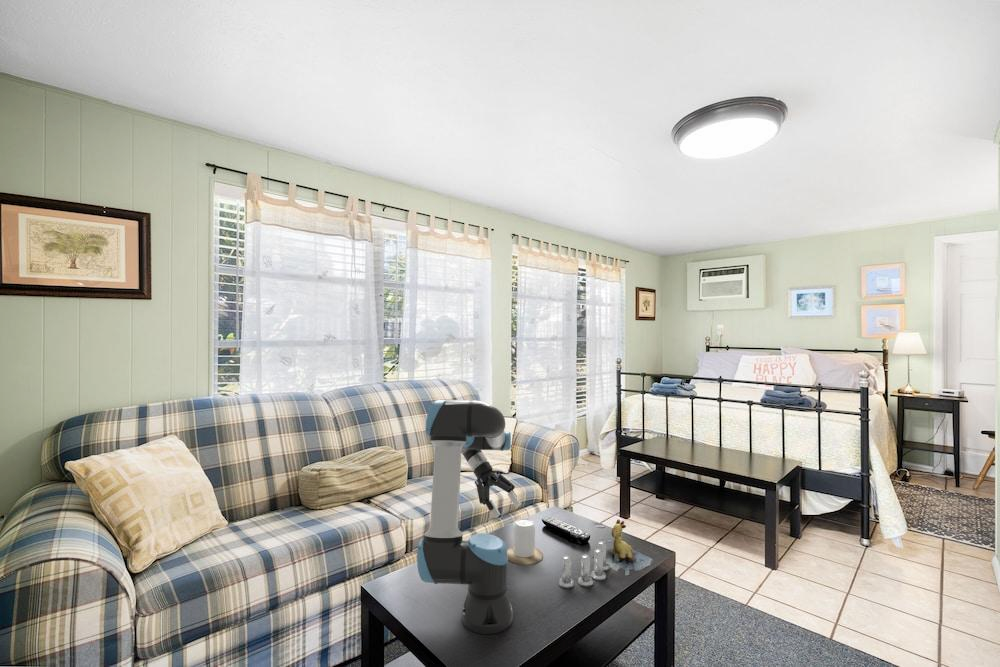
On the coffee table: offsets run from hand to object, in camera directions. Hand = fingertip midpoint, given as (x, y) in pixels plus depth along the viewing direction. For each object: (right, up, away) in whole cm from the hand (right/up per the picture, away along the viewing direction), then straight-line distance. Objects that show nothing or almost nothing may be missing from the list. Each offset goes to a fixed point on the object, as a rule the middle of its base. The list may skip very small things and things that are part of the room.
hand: (508, 511), depth 177 cm
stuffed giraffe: (+44, -16, -8) cm, 47 cm away
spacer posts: (+27, -15, -20) cm, 37 cm away
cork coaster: (+6, -15, -5) cm, 17 cm away
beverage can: (+6, -14, -5) cm, 16 cm away
